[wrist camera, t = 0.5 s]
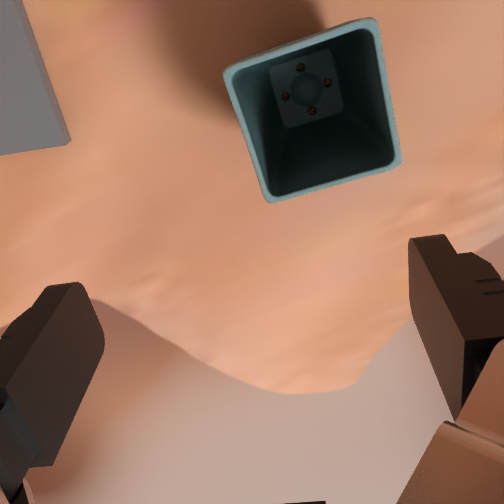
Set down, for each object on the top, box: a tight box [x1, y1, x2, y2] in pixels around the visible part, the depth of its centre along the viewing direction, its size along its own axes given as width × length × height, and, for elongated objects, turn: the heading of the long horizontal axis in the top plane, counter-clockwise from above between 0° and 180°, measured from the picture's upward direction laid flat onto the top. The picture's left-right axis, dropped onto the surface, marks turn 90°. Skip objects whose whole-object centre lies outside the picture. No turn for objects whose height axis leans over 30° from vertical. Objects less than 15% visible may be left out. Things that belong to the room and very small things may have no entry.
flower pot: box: [223, 17, 403, 204], centre depth 32 cm, size 9×9×9 cm
